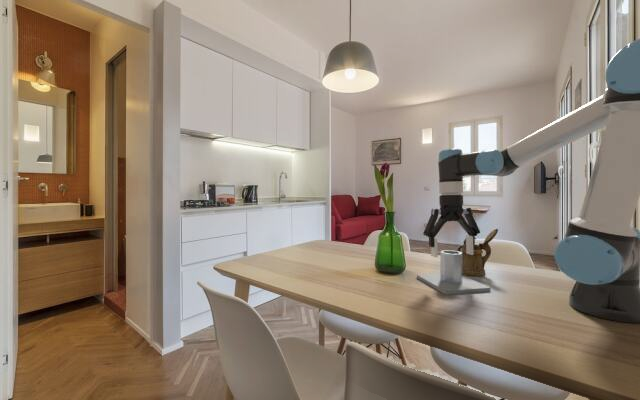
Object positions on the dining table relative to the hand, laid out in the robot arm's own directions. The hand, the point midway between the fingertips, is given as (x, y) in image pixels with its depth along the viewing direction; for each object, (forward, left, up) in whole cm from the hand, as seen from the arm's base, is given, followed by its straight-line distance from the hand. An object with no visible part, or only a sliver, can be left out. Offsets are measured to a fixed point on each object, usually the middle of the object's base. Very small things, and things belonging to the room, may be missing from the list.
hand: (452, 255), depth 99 cm
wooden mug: (+9, -18, -11) cm, 23 cm away
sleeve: (+1, 0, -9) cm, 9 cm away
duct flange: (0, 0, -10) cm, 10 cm away
